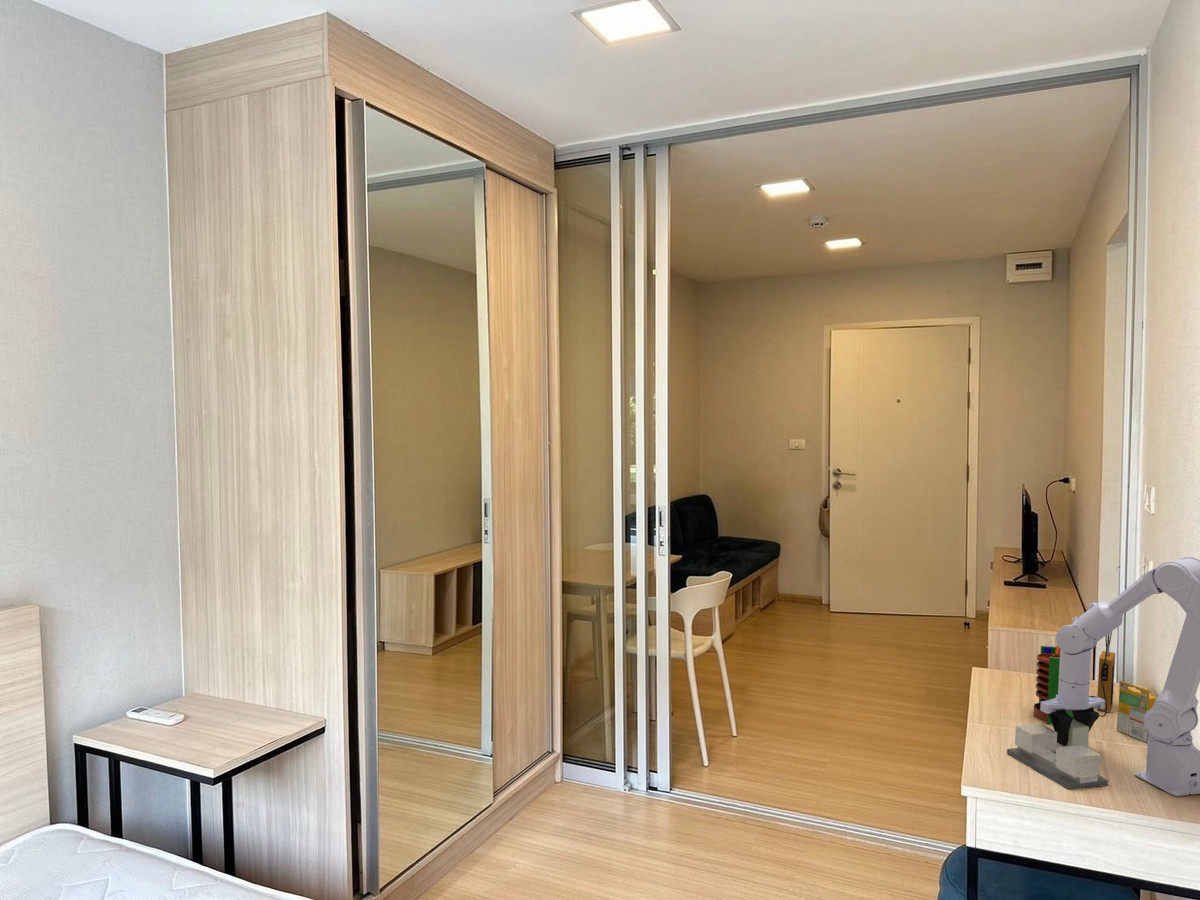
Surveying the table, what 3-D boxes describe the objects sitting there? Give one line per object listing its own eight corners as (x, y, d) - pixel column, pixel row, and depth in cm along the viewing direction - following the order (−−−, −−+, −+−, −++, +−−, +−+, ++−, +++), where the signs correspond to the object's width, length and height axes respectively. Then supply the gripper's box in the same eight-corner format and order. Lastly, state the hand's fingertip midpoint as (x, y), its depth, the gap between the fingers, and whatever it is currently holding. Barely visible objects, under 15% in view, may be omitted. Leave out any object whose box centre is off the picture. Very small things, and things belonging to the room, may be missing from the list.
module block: (1087, 754, 182) (1089, 726, 181) (1071, 756, 181) (1073, 728, 180) (1069, 745, 186) (1070, 718, 186) (1053, 746, 185) (1055, 719, 185)
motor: (1025, 709, 208) (1029, 627, 207) (1062, 710, 208) (1067, 628, 206) (1045, 725, 198) (1049, 639, 196) (1085, 726, 197) (1089, 640, 196)
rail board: (1107, 785, 167) (1109, 754, 167) (1068, 789, 165) (1070, 758, 165) (1043, 750, 184) (1044, 722, 183) (1007, 753, 182) (1008, 725, 181)
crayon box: (1156, 741, 190) (1159, 689, 189) (1146, 743, 188) (1149, 690, 188) (1125, 729, 196) (1128, 679, 196) (1116, 730, 195) (1118, 680, 195)
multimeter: (1069, 692, 221) (1073, 615, 220) (1114, 700, 215) (1118, 621, 214) (1060, 708, 209) (1064, 627, 208) (1107, 718, 203) (1112, 634, 202)
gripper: (1087, 672, 188) (1084, 733, 189) (1031, 676, 185) (1028, 738, 186) (1114, 683, 181) (1110, 746, 182) (1055, 687, 178) (1052, 751, 179)
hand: (1070, 743), depth 183 cm, fingers closed on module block, 4 cm apart
